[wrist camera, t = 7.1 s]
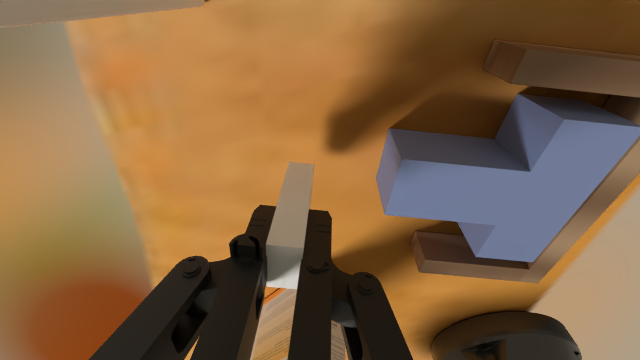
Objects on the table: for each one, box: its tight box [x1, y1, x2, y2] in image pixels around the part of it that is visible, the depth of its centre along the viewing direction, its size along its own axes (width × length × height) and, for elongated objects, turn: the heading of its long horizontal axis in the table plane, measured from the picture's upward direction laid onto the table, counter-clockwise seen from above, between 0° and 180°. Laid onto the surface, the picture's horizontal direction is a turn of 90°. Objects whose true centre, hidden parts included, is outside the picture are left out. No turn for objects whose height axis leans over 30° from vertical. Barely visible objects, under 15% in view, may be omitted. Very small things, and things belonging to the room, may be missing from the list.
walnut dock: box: [410, 40, 640, 283], centre depth 18 cm, size 16×10×3 cm, turn 175°
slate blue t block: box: [376, 93, 640, 262], centre depth 17 cm, size 11×10×4 cm
